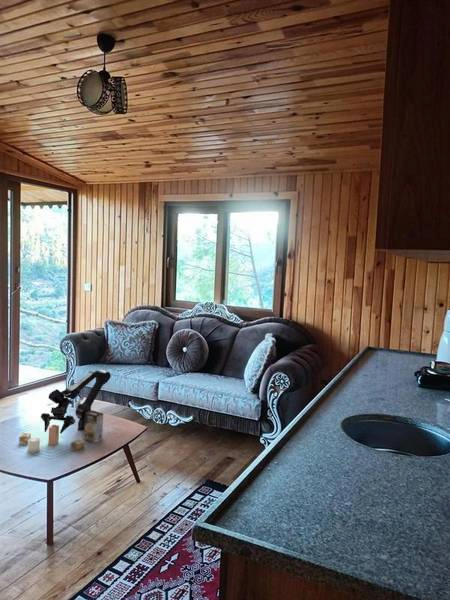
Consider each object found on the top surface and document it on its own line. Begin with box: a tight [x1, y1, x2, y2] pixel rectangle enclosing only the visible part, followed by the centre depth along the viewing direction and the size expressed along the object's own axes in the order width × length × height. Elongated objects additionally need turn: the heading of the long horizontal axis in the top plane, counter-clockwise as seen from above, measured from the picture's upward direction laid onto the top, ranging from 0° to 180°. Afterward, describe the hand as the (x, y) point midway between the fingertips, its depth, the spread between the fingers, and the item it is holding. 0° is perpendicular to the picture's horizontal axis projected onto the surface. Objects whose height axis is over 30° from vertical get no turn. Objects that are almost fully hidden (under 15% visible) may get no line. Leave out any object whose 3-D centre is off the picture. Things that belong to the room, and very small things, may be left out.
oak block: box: [18, 432, 32, 445], centre depth 255 cm, size 5×5×4 cm
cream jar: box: [27, 437, 41, 454], centre depth 245 cm, size 6×6×6 cm
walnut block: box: [70, 439, 85, 453], centre depth 250 cm, size 5×5×4 cm
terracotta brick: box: [48, 424, 60, 446], centre depth 255 cm, size 4×4×11 cm
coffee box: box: [83, 409, 104, 443], centre depth 264 cm, size 9×6×16 cm
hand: (52, 432), depth 254 cm, fingers open, 9 cm apart
